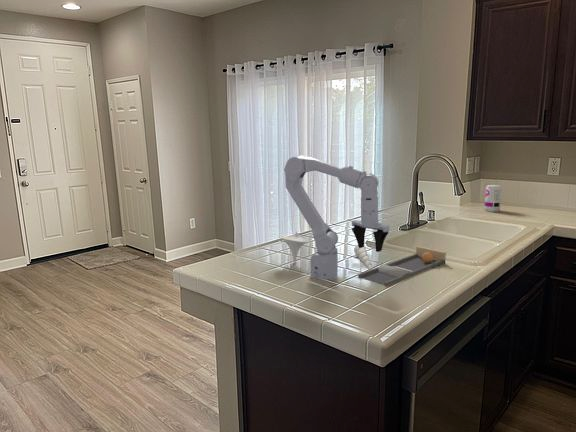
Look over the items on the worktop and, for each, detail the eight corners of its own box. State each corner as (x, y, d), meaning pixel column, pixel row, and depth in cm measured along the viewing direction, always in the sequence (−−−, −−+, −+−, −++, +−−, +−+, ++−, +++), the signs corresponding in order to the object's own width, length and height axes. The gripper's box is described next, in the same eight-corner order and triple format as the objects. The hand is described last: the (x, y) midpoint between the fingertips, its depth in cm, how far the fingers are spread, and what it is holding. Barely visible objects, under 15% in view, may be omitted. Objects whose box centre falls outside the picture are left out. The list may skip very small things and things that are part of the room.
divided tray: (386, 297, 144) (386, 274, 143) (358, 288, 153) (358, 266, 152) (444, 272, 167) (445, 252, 165) (417, 265, 176) (418, 246, 174)
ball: (435, 255, 163) (434, 257, 167) (425, 249, 164) (424, 251, 168) (429, 263, 163) (428, 265, 166) (420, 257, 164) (419, 259, 168)
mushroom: (295, 256, 180) (294, 227, 178) (313, 261, 172) (313, 232, 170) (275, 261, 174) (274, 232, 171) (294, 267, 166) (293, 237, 163)
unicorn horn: (362, 274, 158) (362, 261, 157) (353, 255, 181) (353, 243, 180) (375, 274, 158) (375, 261, 157) (365, 254, 181) (365, 243, 180)
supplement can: (485, 211, 256) (487, 186, 253) (483, 209, 264) (485, 184, 261) (500, 212, 254) (502, 186, 251) (498, 209, 262) (500, 184, 259)
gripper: (394, 210, 145) (394, 250, 148) (360, 206, 156) (361, 243, 159) (381, 214, 141) (381, 255, 143) (347, 209, 152) (348, 247, 154)
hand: (369, 249), depth 151 cm, fingers open, 7 cm apart
